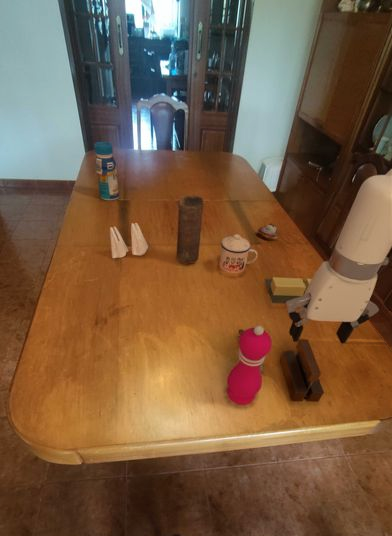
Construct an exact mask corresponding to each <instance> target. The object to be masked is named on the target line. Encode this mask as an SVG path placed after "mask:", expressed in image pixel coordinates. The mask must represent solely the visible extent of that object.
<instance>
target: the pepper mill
mask: <svg viewBox="0 0 392 536" xmlns="http://www.w3.org/2000/svg"><path fill="white" fill-rule="evenodd" d="M239 336H240V335H239ZM272 346H273V342H272V337H271V335H270V334H269V332H267V331H266V330H265V329H264V327H263V325H260V324H259V325H256V326H254V327H250V328H247V329H246V330H244V332H243V333H242V334H241V336H240V338H239V339H238V348H239V350H238V359H239V360H238V363H237V364H236V365H234V366H233V367H232V368H231V369H230V370H229V372H228V375H227V378H226V384H227V388H226V395H227V397H228V399H229V400H230V401H231V402H233V403H234V404H236V405H239V406H240V405H241V406H246V405H250V404H252V403H253V401H254V400H255V398H256V395H258V393H259V392H260V390H261V388H262V383H263V377H262V374H261V371H260V364H263V363H264V362H265V358H266V356H267V355H268V354H269V353H270V352H271V350H272Z"/></svg>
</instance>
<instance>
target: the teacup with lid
mask: <svg viewBox="0 0 392 536" xmlns="http://www.w3.org/2000/svg"><path fill="white" fill-rule="evenodd" d="M220 246H221V247H220V254H219V262H218V267H219V268H220V270H222V271H224V272H226V273H228V274H229V273H230V274H239V273H242V272H244V271H245V270H246V267H247V265H249V264H253V263H254V262H255V261H256V260H257V258H258V251H257V250H256V249H254V248H251V244H250V242H249V240H247V239H246V238H244V237H241V235H240V234H238V233H235V234H234V235H232V236H231V235H230V236H226V237H224V238H223V239H222V240H221V242H220ZM249 253H253V254H254V257H253V258H252V259H249V260H248V256H249Z"/></svg>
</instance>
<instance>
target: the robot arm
mask: <svg viewBox="0 0 392 536" xmlns="http://www.w3.org/2000/svg"><path fill="white" fill-rule="evenodd" d="M362 182H363V183H362V184H361V186H360V188H359V190H358V192H357V194H356V197H355V199H354V201H353V202H352V205H351V208H350V210H349V212H348V215H347V217H346V219H345V222H344V224H343V227H342V229H341V231H340V234H339V236H338V239H337V241H336V243H335V245H334V247H333V249H332V252H331V255H330V257H329V260H326V261H325V260H324V261H323V262H322V263H321V265H320V266H319V267H318V269H317V270H316V272H315V273H314V274H313V276H312V278H311V279H312V280H311V282H310V284H309V286H308V287H307V289H306V292H305V294H304V296H301V297H298V298H295V299H292V300H289V301H287V302H286V303H284V305H285V307H286V311H287V314H288V317H289V319H290V320H291V321H292V322H291V325H290V327H289V331H288V333H289V336H290V337H291V338H292V342H293V343H298V341H299V339H301V338H300V337H301V335H302V333H303V331H304V325H305V324H306V323H308V322H311V321H316V322H317V321H319V322H339V323H340V322H341V323H340V324H339V327H338V329H337V330H336V332H335V333H336V337H337V338H338V341H339V343H340V344H343V345H344V344H346V343H347V341H348V339H349V338H350V337H351V335H352V333H353V331H354V330H356V329H359V328H360V325H362V324H364V323H365V322H368V321H369V320H370V317H373V316H374V315H376V314H377V313H379V311H380V309H379V307H378V305H377V304H376V303H374V302H373V301H371V300H370V299H371V297H372V295H373V294H374V293H373V292H374V290H375V287H376V284H377V280H378V271H379V270H380V268H381V267H382V266H388V265H389V262H390V258H389V257H387V256H388V254H389V253H390V251H391V249H392V168H390V170H388V171H387V173H385V174H376V175H372V176H369V177H367V178H366V179H365V180H364V181H362ZM298 308H300V309H298ZM296 309H298V310H297V311H296Z"/></svg>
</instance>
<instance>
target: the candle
mask: <svg viewBox="0 0 392 536" xmlns="http://www.w3.org/2000/svg"><path fill="white" fill-rule="evenodd" d="M204 204H205V203H204V199H203V197H200V196H199V195H198V196H197V195H193V194H192V195H186V196H184V197H181V198H179V200H178V217H177V218H178V220H177V235H176V236H177V237H176V238H177V240H176V254H175V255H176V260H178V261H179V262H180V263H181V264H193V263H194V264H195V263H196V262H197V261H198V260H199V255H200V254H199V253H200V244H201V232H202V231H201V230H202V222H203V221H202V220H203V213H204V211H203V210H204Z"/></svg>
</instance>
